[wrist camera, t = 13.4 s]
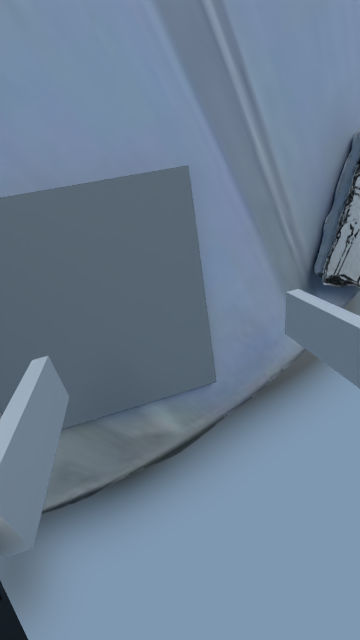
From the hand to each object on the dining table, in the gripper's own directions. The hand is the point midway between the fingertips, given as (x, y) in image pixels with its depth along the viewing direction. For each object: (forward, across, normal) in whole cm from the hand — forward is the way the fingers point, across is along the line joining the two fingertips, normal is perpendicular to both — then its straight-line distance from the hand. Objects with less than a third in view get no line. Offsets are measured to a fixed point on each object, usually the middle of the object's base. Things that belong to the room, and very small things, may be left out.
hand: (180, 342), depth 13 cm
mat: (+9, -6, -1) cm, 11 cm away
